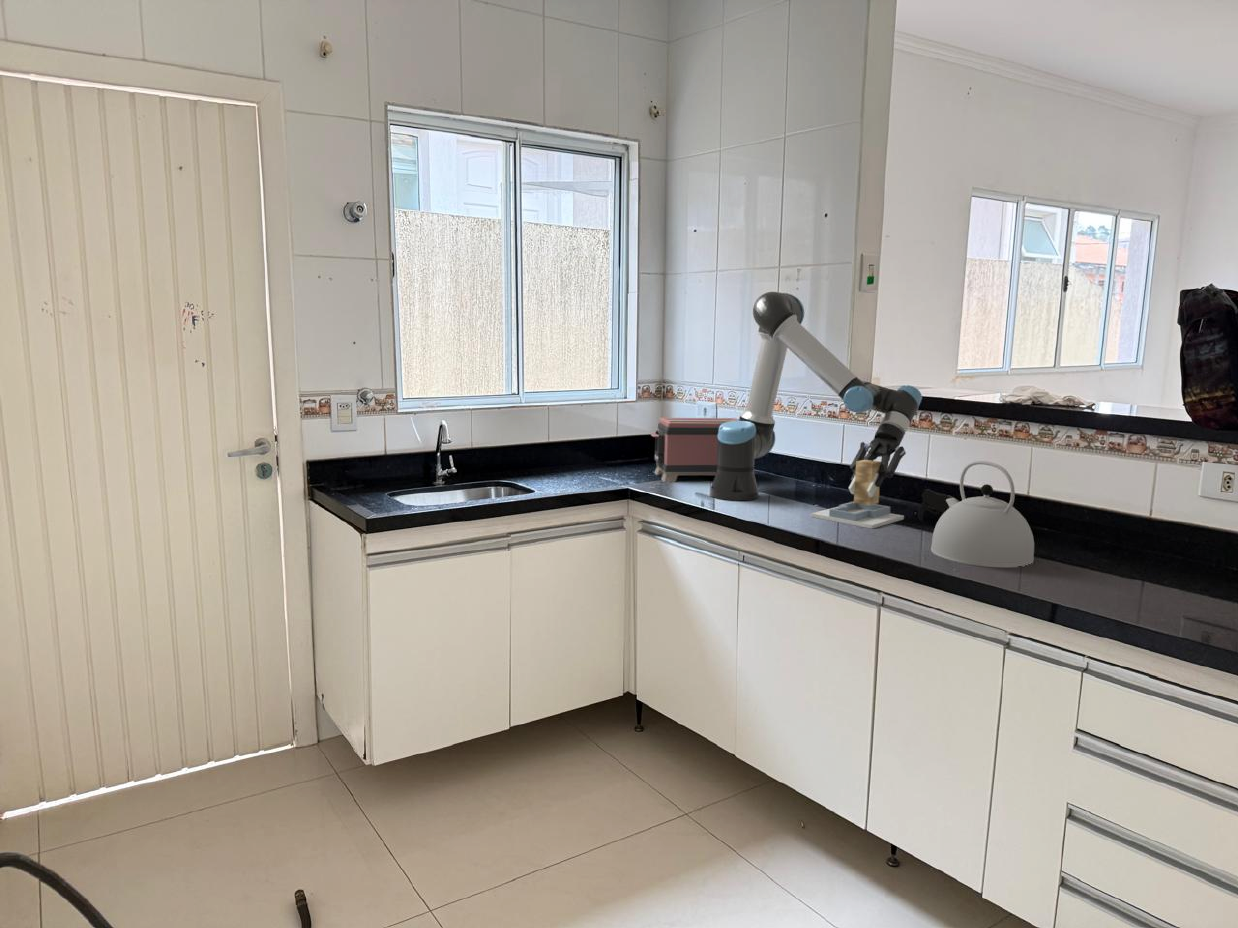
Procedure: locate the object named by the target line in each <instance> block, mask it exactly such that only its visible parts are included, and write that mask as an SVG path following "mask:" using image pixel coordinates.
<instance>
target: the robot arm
mask: <svg viewBox="0 0 1238 928" xmlns="http://www.w3.org/2000/svg"><path fill="white" fill-rule="evenodd" d="M752 316H753V319H754V321H755V323H756V324H757V325H758V326H759V327H758V334H759V336H760V338H761V341H760V345H759V350H758V353H757V354H758V355H757V360H756V363H755V368H754V373H753V377H752V382H751V386H750V390H749V395H748V400H747V404H746V408H745V411H743V412H742V413H740V415H739V417H738V419H739V421H732V422H726V423H723V424H721V425H720V427H719V432H718V451H717V472H716V475H714V478H713V482H712V484H711V487H710V497H712V498H715V499H719V500H726V501H727V500H729V501H752V500H755V499H758V498H759V488H758V485H757V480H756V476H755V459H760V458H763V457H764V456H766V455H767V454H769V452H771V451H772V450H773V448H774V446H775V443H776V432H775V431H774V429H775V425H776V420H775V419H774V418H773V412H774V408H775V404H776V399H777V394H778V390H779V385H780V381H781V378H782V372H783V368H784V364H785V361H786V360H785V359H786V356H787V353H788V352H787V351H788V349H789V351H791V352H792V353H793V354H794V356H796V357H797V358H798V359H799V360H800V361H801V362H803V364H805V366H806V367H807V368H808V369H810V371H812V372H813V373H814V374H815V375H816V376H817V377H818V378H819V379H820V380H821V381H823V383H824V384H826V385H827V387H829V388H830V389H831V391H833V392H834V393H835V394H836V395H837V396H838V397H839V398H840V399H841V400H842V401H843V403H844V406H845V408H846V409H847V410H848V411H850V412H852V413H858V414H859V413H864V412H867V411H871V410H872V411H875V412H878V413H879V412H880V413H882V414H884V416H883V418H882V420H881V422H880V425H879V426H878V428H877V430H876V432H875V434H874V437H873V439H872V440H871V441H870V442H868V443H865V442H864V441H862V442H860V445H859V449H858V451H857V453H856V455H855V457H854V458H853V461H852V462H851V464H850V466H849V468H850V469H851V472H852V473H853V474H852V475H851V478H850V481H851V482H850V484H849V486H848V490H849V492H850V494H851V495H854V492H855V473H856V461H861V460H871V461H877V458H880V457H881V460H880V462H881V465H880V470H879V471H878V472H879V474H878V473H876V474H875V476H874V478H873V480H872V482H871V483H870V485H869V487H868V489H867V493H868V495H869V497H872V496H873V495H874V493H875V491H876V489H877V487H879V488H880V487H881V486H882V484H883V482H884V480H885V479H886V478H888V479H892V478H893V476H894V474H895V472H896V471H897V469H898V467H899V464H900V462H901V460H902V458H903V457H905V455H906V453H907V452H906V450H905V448H904V446H900V445H901V443H902V441H903V439H904V436H905V434H906V433H907V431H908V429H909V427H910V424H911V423H912V421H913V420H914V417H915V415H916V413H917V411H918V410H919V406H920V405H921V403H922V400H923V395H922V393H921V391H920V389H918V388H917V387H915V386H912V385H908V384H907V385H901V386H900V387H899V388H898V389H897V390H896V389H891V388H889V387H888V388H887V387H884V386H882V385H878V384H876V383H872V382H870V381H865V380H861V379H860V378H858V376H857V375H856V374H854V373H853V371H852V370H850V369H849V368H848V367H847V366H846V365H845V364H844V363H843V362H842V361H840V360H839V359H838V358H837V357H836V355H834V354H833V353H832V352H831V351H830V350H829V349H828V348H826V347H825V346H824V344H822V342H821V341H820V340H818V339H817V338H816V337H815V336H814V335H812V333H811V332H809V331H808V330H807V329H806V328H805V327H804V326H803V325H802V323H803V321H804V318H805V308H804V304H803V303H802V301H801V300H800V299H799V298H798V297H797V296H795V295H793V294H791V293H788V292H777V291H767V292H765V293H763V294H761V295H760V296H759V297H758V298H756V300H755V302H754V305H753V307H752ZM867 452H868V453H867ZM892 454H893V456H892V458H891V455H892Z"/></svg>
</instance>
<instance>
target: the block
mask: <svg viewBox="0 0 1238 928" xmlns="http://www.w3.org/2000/svg"><path fill="white" fill-rule="evenodd" d="M880 465H881V461H879V460H873V461H871V460H861V461H856V473H855V492H854V494H853V501H854V503H858V504H864V505H873V504H877V505H878V504H879V501H880V500H879V499H880V487H877V489H876V491H875V493H874V495H873V496H872V497H869V495H868V493H867V489H868V487H869V485H870V483H871V482H872V480H873V478H874V476H875V474H876V473H878V474H879V472H878V471H879V470H880Z"/></svg>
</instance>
